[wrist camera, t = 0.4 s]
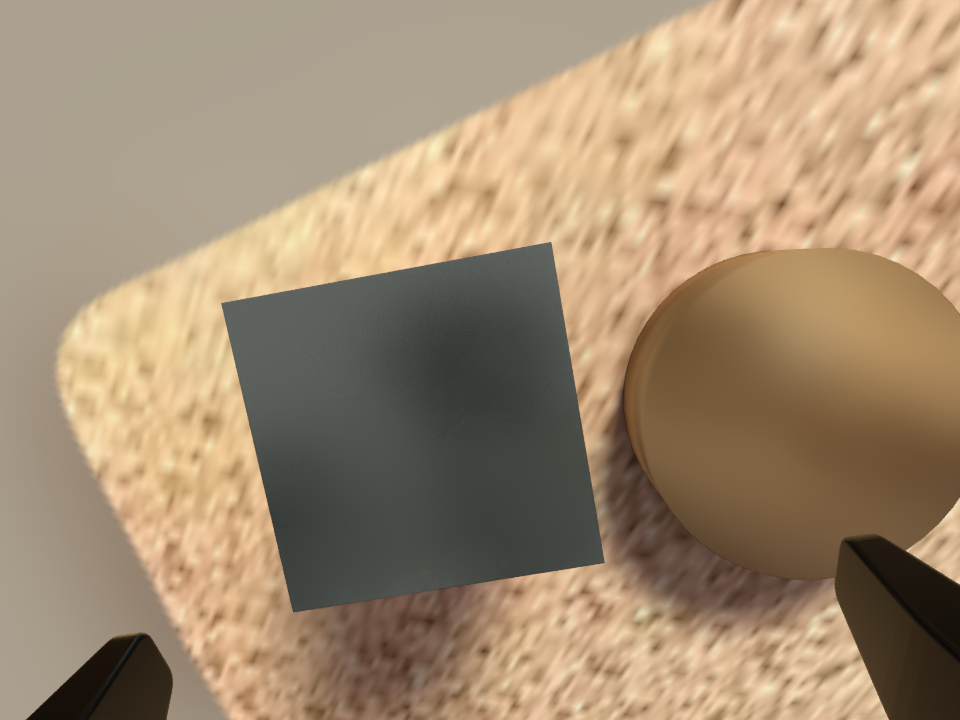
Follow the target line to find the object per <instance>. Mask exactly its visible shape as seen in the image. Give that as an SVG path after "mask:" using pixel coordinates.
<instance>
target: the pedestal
mask: <svg viewBox="0 0 960 720" xmlns="http://www.w3.org/2000/svg"><path fill="white" fill-rule="evenodd" d="M624 415H625V422H626V429H627V432H628V436H629V439H630V443H631V446H632V448H633V451H634V453H635V455H636V457H637V460H638V462H639V464H640V465H641V467H642V469H643V470H644V472H645V473H646V475H647V477H648V478H649V480H650V481H651V483H652V484H653V485H654V487H655V488H656V490H657V491H658V493H659V494H660V496H661V497H662V498H663V500H664V501H665V503H666V504H667V506H668V507H669V509H670V510H671V511H672V513H673V514H674V515H675V517H676V518H677V519H678V520H679V521H680V523H681V524H682V525H683V526H684V528H685V529H686V530H687V531H688V532H689V533H690V534H692V535H693V536H694V537H695V538H696V539H697V540H698V541H699V542H700V543H701V544H703V545H704V546H706V547H707V548H708V549H710V550H711V551H713V552H714V553H715V554H717V555H718V556H720V557H722V558H724V559H726V560H728V561H730V562H732V563H734V564H735V565H738V566H740V567H743V568H746V569H748V570H751V571H754V572H757V573H761V574H765V575H769V576H774V577H778V578H788V579H798V580H806V579H826V578H833V577H835V575H836V568H837V560H838V553H839V547H840V543H841V541H842V540H843V539H844V538H846V537H850V536H857V535H865V534H878V535H880V536H883V537H884V538H886V539H888V540H889V541H891V542H893V543H894V544H896V545H897V546H899V547H901V548H902V549H904V550H905V551H906V550H907V549H908V548H910V547H911V546H913V545H914V544H915V543H917V542H918V541H920V540H921V539H922V538H924V537H925V536H926V535H927V534H928V533H929V532H930V531H931V530H932V529H933V528H935V527H936V526H937V525H938V524H939V523H940V522H941V521H942V519H943V518H944V517H945V516H946V515H947V514H948V512H949V511H950V510H951V509H952V508H953V507H954V505H955V504H956V502H957V501H958V499H959V498H960V314H959V312H958V311H957V310H956V308H955V307H954V306H953V304H952V303H951V302H950V301H949V300H948V299H947V298H946V297H945V296H944V295H943V294H942V293H941V292H940V291H939V290H938V289H937V288H936V287H935V286H933V285H932V284H931V283H929V282H928V281H927V280H925V279H924V278H923V277H921V276H920V275H919V274H917V273H915V272H913V271H911V270H910V269H908V268H906V267H904V266H902V265H900V264H899V263H896V262H893V261H891V260H888V259H886V258H883V257H880V256H878V255H874V254H869V253H865V252H861V251H856V250H848V249H837V248H818V249H797V250H779V251H762V252H756V253H750V254H744V255H740V256H737V257H733V258H730V259H727V260H723V261H721V262H719V263H717V264H715V265H712V266H710V267H708V268H706V269H704V270H702V271H701V272H699V273H697V274H696V275H694V276H692V277H691V278H689V279H688V280H686V281H685V282H684V283H683V284H681V285H680V286H679V287H678V288H676V289H675V290H674V291H673V292H672V293H671V294H670V295H669V296H668V297H667V298H666V299H665V300H664V301H663V302H662V303H661V304H660V305H659V306H658V308H657V309H656V310H655V312H654V313H653V314H652V316H651V317H650V318H649V320H648V321H647V323H646V325H645V326H644V328H643V330H642V332H641V333H640V335H639V337H638V339H637V341H636V344H635V346H634V349H633V351H632V354H631V356H630V360H629V364H628V368H627V372H626V378H625V386H624Z"/></svg>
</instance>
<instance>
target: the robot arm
mask: <svg viewBox="0 0 960 720" xmlns="http://www.w3.org/2000/svg"><path fill="white" fill-rule="evenodd" d="M835 592H836V596H837V600H838V602H839V605H840V607H841V610H842V612H843V614H844V617H845V619H846V621H847V624H848V626H849V628H850V631H851V633H852V635H853V638H854V640H855V642H856V645H857V647H858V649H859V652H860V654H861V656H862V659H863V661H864V663H865V666H866V668H867V670H868V673H869V675H870V677H871V680H872V682H873V684H874V687H875V689H876V691H877V694H878V696H879V698H880V701H881V703H882V705H883V707H884V710H885V712H886V714H887V716H888V718H889V720H960V585H959V584H958V583H956V582H955V581H953V580H951V579H950V578H948V577H947V576H945V575H944V574H942V573H940V572H939V571H937V570H936V569H934V568H932V567H931V566H929V565H928V564H926V563H924V562H923V561H921V560H920V559H918V558H916V557H915V556H913V555H912V554H910V553H908V552H907V551H905V550H904V549H902V548H901V547H899V546H897V545H896V544H894V543H893V542H891V541H889V540H888V539H886V538H884V537H883V536H880V535H878V534H865V535H857V536H850V537H846V538H844V539H843V540H842V541H841V543H840V547H839V553H838V560H837V568H836V575H835ZM172 687H173V678H172V673H171V670H170V668H169V666H168V664H167V663H166V661H165V659H164V658H163V656H162V654H161V653H160V651H159V650H158V648H157V646H156V644H155V643H154V641H153V640H152V638H151V637H150V636H149V635H148V634H146V633H134V634H127V635H119V636H116V637H114V638H112V639H111V640H109V641H108V642H107V643H106V644H105V645H104V646H103V647H102V648H101V649H100V650H98V651H97V652H96V653H95V654H94V655H93V656H92V657H91V658H90V659H89V660H88V661H87V662H86V663H85V664H84V665H83V666H82V667H81V668H80V669H79V670H77V671H76V672H75V673H74V674H73V675H72V676H71V677H70V678H69V679H68V680H67V681H66V682H65V683H64V684H63V685H62V686H61V687H60V688H59V689H58V690H57V691H55V692H54V693H53V695H51V696H50V697H49V698H48V699H47V700H46V701H45V702H44V703H43V704H42V705H41V706H40V707H39V708H38V709H37V710H36V711H35V712H34V713H32V714H31V715H30V717H28V718H27V719H26V720H166V719H167V713H168V709H169V704H170V699H171V694H172Z"/></svg>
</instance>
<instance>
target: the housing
mask: <svg viewBox="0 0 960 720" xmlns="http://www.w3.org/2000/svg"><path fill="white" fill-rule="evenodd" d="M221 304H222V308H223V313H224V317H225V321H226V326H227V330H228V334H229V338H230V343H231V347H232V351H233V356H234V360H235V364H236V369H237V373H238V377H239V382H240V386H241V390H242V394H243V399H244V403H245V407H246V412H247V416H248V420H249V425H250V429H251V433H252V437H253V442H254V446H255V450H256V455H257V459H258V463H259V468H260V472H261V476H262V480H263V485H264V489H265V493H266V498H267V502H268V506H269V511H270V515H271V519H272V523H273V528H274V532H275V536H276V541H277V545H278V549H279V554H280V558H281V562H282V566H283V571H284V575H285V579H286V584H287V588H288V592H289V597H290V601H291V605H292V609H293V612H299V611H305V610H312V609H318V608H324V607H331V606H337V605H343V604H349V603H356V602H362V601H368V600H375V599H381V598H387V597H394V596H400V595H406V594H412V593H419V592H425V591H431V590H438V589H444V588H450V587H457V586H463V585H469V584H475V583H482V582H488V581H494V580H501V579H507V578H513V577H520V576H526V575H532V574H538V573H545V572H551V571H557V570H564V569H570V568H576V567H583V566H589V565H595V564H601V563H605V562H604V556H603V550H602V544H601V538H600V532H599V526H598V520H597V514H596V508H595V502H594V496H593V490H592V484H591V478H590V472H589V466H588V460H587V454H586V448H585V442H584V436H583V430H582V424H581V418H580V412H579V406H578V400H577V394H576V388H575V382H574V376H573V370H572V364H571V358H570V352H569V346H568V340H567V334H566V328H565V322H564V316H563V310H562V304H561V298H560V292H559V286H558V280H557V274H556V268H555V262H554V256H553V250H552V244H551V242H549V243H544V244H538V245H533V246H528V247H522V248H517V249H511V250H506V251H501V252H495V253H490V254H484V255H479V256H474V257H468V258H463V259H457V260H452V261H447V262H441V263H436V264H430V265H425V266H420V267H414V268H409V269H404V270H398V271H393V272H387V273H382V274H377V275H371V276H366V277H360V278H355V279H350V280H344V281H339V282H333V283H328V284H323V285H317V286H312V287H306V288H301V289H296V290H290V291H285V292H279V293H274V294H269V295H263V296H258V297H253V298H247V299H242V300H236V301H231V302H226V303H221Z"/></svg>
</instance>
